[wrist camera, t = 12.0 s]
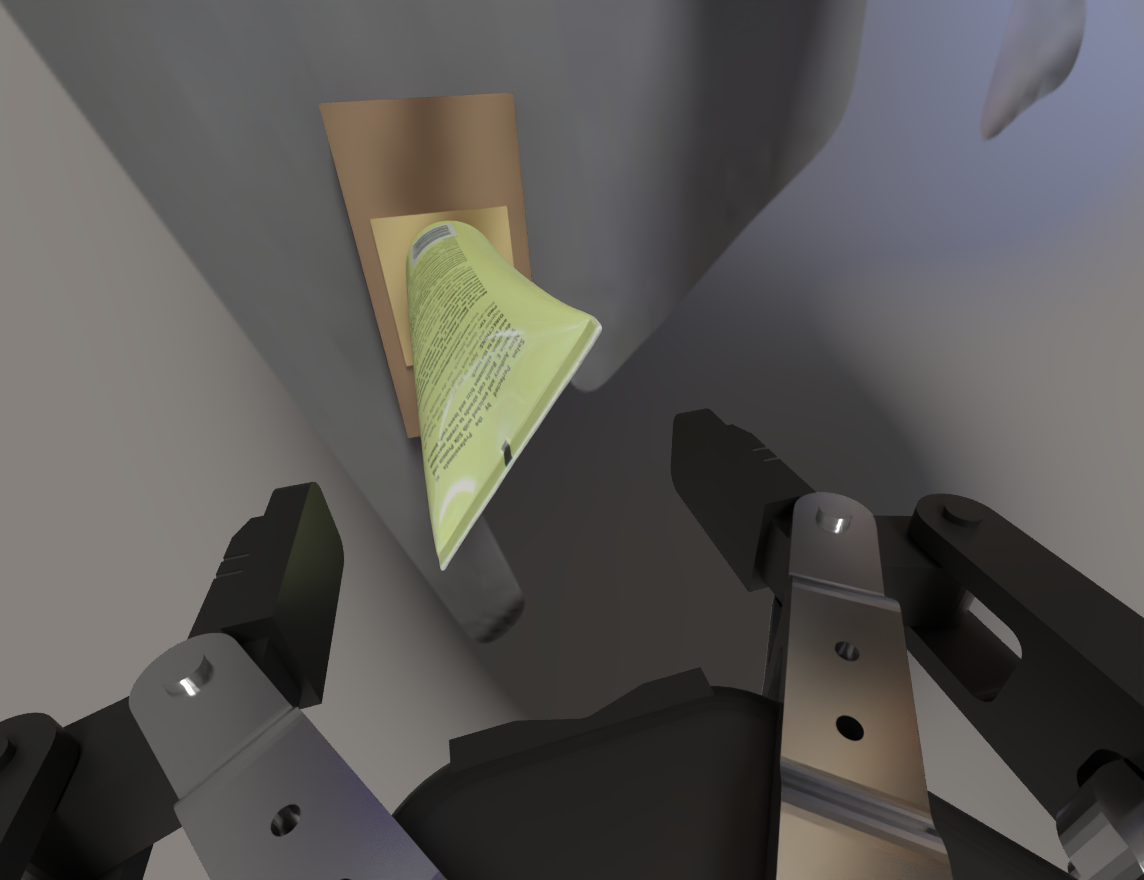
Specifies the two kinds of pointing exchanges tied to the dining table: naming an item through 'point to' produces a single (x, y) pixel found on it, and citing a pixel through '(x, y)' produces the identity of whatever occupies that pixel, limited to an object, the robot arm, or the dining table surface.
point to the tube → (481, 368)
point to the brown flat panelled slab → (424, 195)
